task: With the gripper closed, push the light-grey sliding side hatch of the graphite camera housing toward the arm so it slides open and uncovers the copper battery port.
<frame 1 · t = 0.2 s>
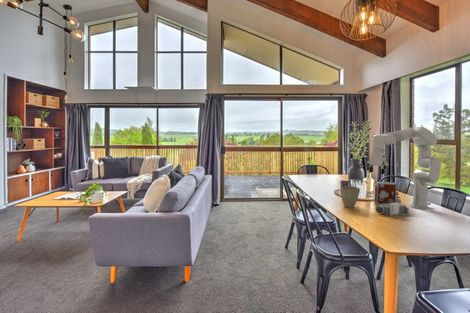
hand: (376, 173, 193), 31 cm above the table, fingers open, 9 cm apart
cine camera: (387, 206, 212), on the table
housing: (391, 212, 194), on the table
hatch: (394, 208, 187), point 5 cm above the table, slide at 0.0 cm
plant pot: (349, 206, 210), on the table
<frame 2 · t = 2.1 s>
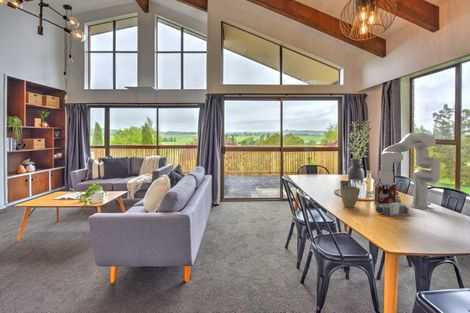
hand: (384, 194, 184), 17 cm above the table, fingers closed
nothing on the table moved.
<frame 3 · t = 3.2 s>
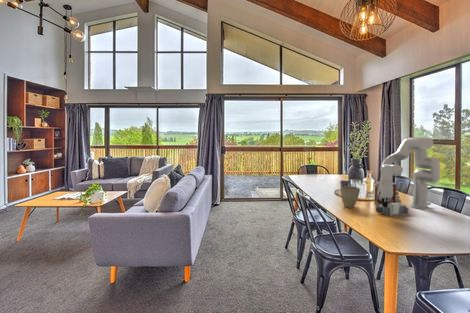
hand: (384, 206, 185), 7 cm above the table, fingers closed
nothing on the table moved.
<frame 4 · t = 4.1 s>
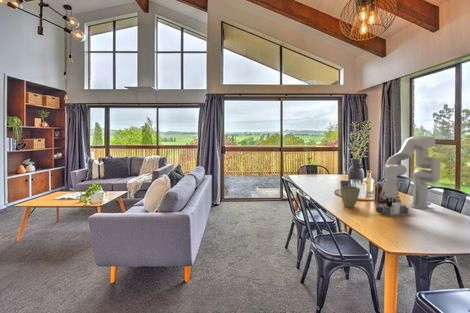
hand: (389, 206, 186), 7 cm above the table, fingers closed
hatch: (395, 208, 187), point 5 cm above the table, slide at 0.4 cm, touching gripper
everything else where it was.
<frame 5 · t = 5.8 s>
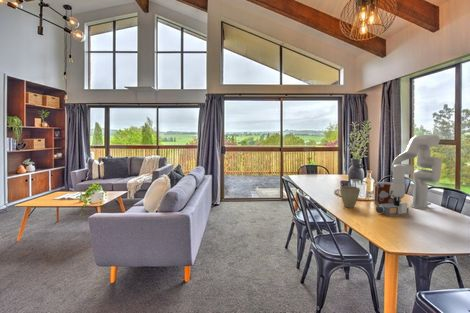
hand: (396, 205, 187), 7 cm above the table, fingers closed
hatch: (402, 208, 188), point 5 cm above the table, slide at 7.4 cm, touching gripper
everything else where it was.
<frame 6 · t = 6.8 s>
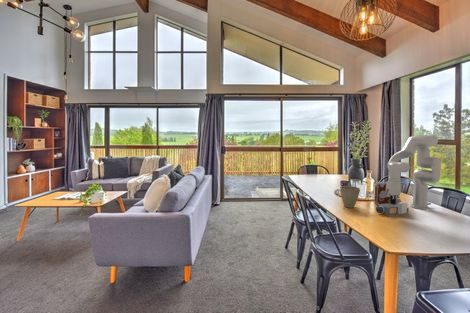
hand: (393, 203, 187), 9 cm above the table, fingers closed
hatch: (402, 208, 188), point 5 cm above the table, slide at 7.4 cm
everything else where it was.
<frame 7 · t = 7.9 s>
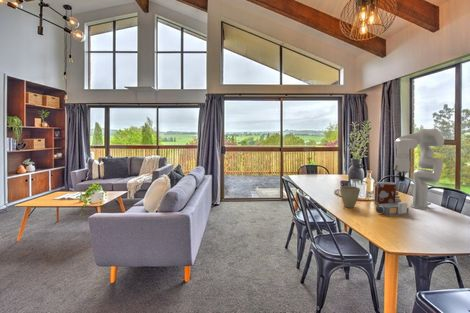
hand: (401, 180, 186), 26 cm above the table, fingers closed
nothing on the table moved.
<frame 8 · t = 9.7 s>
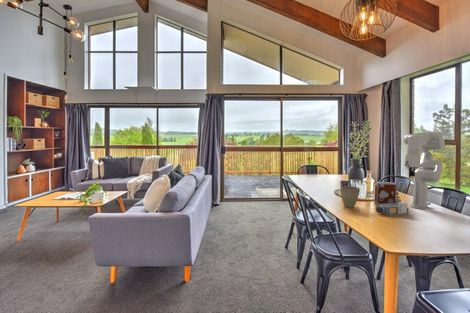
hand: (411, 176, 188), 29 cm above the table, fingers closed
nothing on the table moved.
at the end: hatch slide at 7.4 cm; hatch touching nothing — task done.
